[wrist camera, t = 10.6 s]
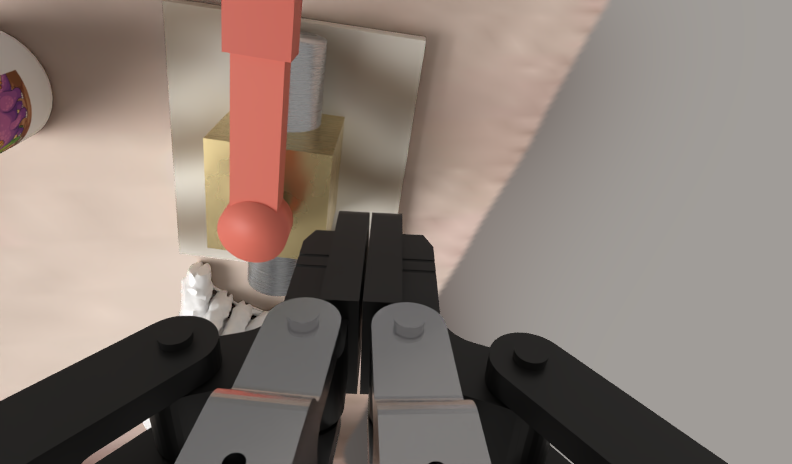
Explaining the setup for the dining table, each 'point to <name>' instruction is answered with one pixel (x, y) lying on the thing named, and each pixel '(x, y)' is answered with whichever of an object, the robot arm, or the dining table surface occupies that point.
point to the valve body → (287, 167)
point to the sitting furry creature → (214, 305)
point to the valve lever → (258, 124)
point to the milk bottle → (21, 93)
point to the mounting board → (343, 96)
